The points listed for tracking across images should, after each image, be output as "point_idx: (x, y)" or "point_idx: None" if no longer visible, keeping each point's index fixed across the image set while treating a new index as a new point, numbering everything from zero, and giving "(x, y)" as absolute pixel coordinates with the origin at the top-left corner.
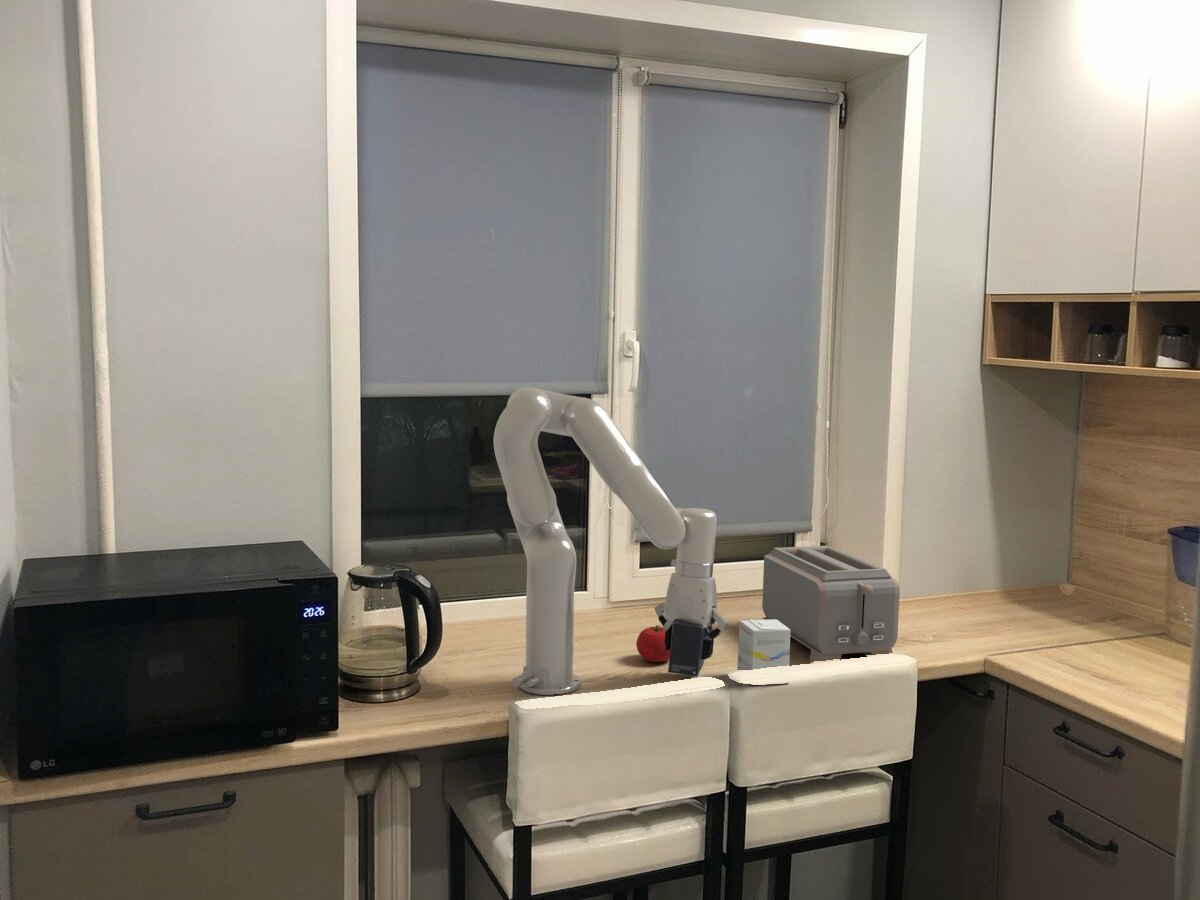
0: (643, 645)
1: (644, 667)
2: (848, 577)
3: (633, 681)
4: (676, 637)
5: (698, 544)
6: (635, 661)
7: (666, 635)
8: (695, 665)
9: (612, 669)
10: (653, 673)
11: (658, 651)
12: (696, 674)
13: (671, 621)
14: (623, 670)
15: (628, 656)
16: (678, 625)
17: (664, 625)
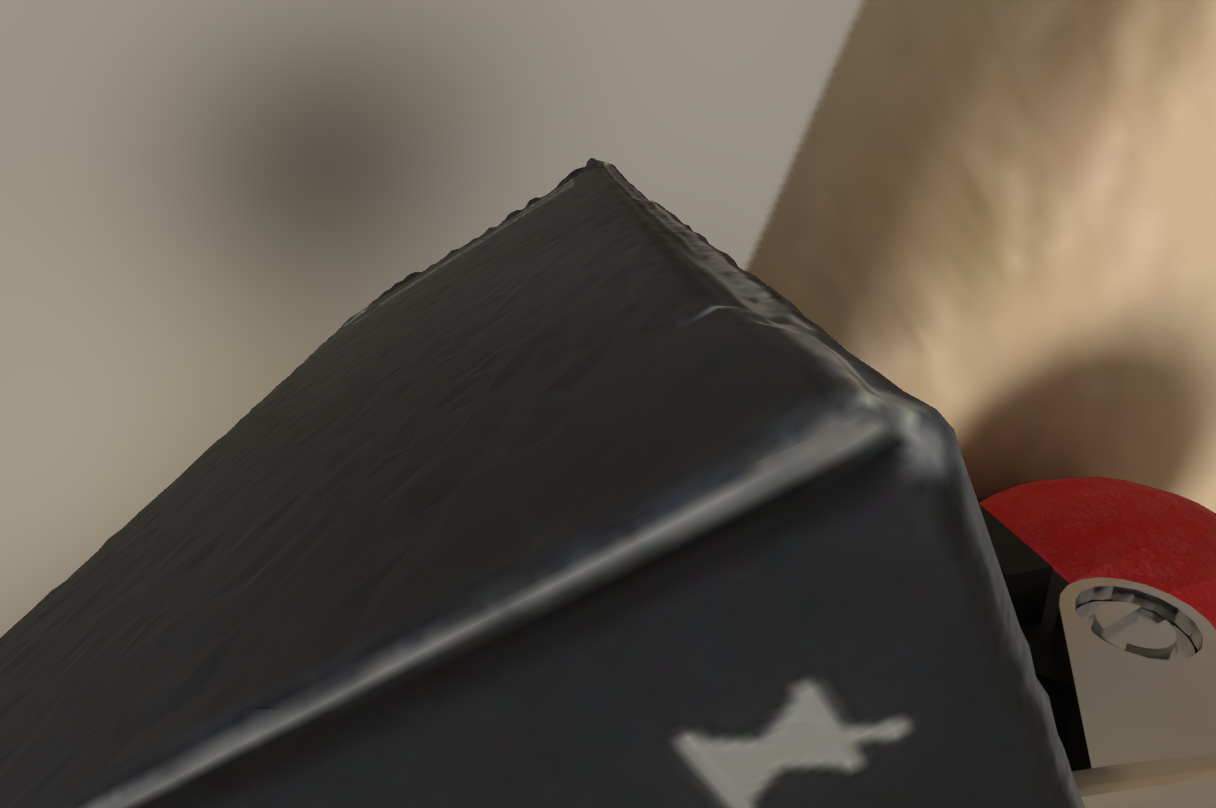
0: (1164, 511)
1: (991, 402)
2: None
3: (910, 69)
4: (544, 284)
5: None
6: (1098, 447)
7: (988, 521)
8: (323, 347)
9: (1183, 185)
10: (875, 353)
11: None
12: (343, 324)
13: (1161, 776)
14: (1098, 233)
15: (1177, 484)
16: (491, 521)
17: (1210, 650)
